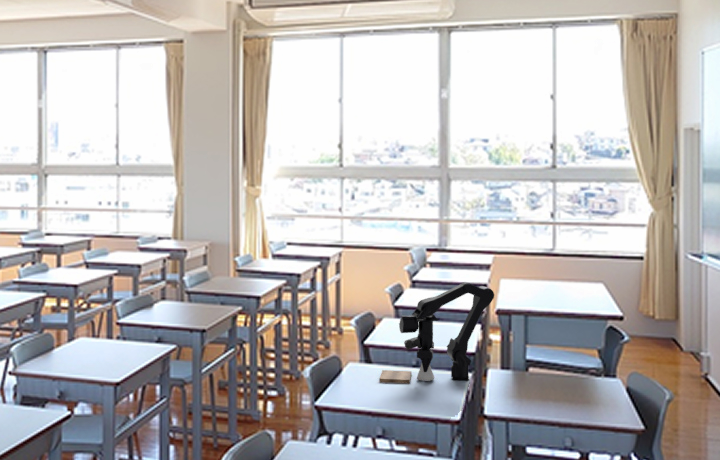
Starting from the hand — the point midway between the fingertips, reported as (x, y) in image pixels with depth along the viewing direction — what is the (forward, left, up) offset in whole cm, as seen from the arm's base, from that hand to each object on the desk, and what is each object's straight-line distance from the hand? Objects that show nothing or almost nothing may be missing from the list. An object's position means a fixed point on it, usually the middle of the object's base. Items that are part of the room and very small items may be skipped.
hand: (425, 370), depth 260 cm
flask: (0, 0, -4) cm, 4 cm away
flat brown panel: (+12, -1, -5) cm, 13 cm away
